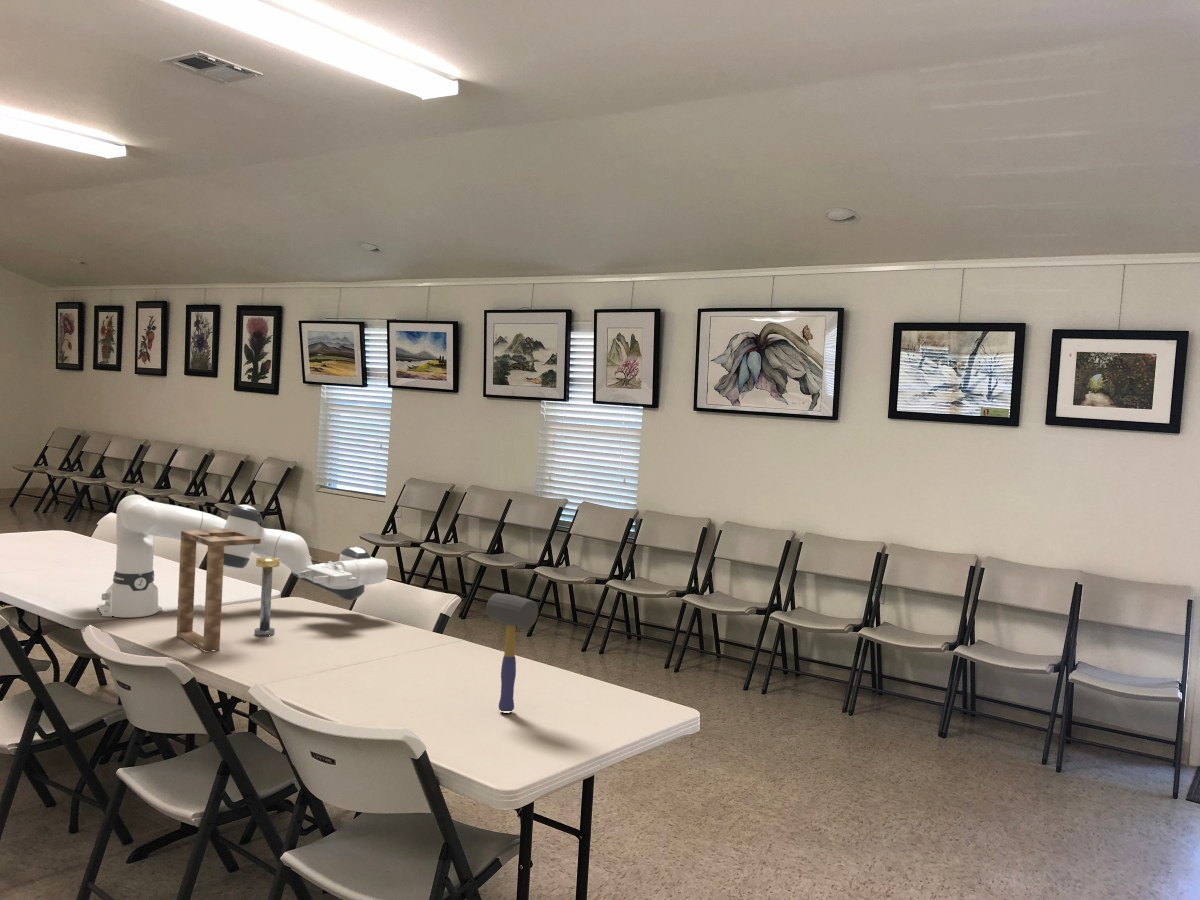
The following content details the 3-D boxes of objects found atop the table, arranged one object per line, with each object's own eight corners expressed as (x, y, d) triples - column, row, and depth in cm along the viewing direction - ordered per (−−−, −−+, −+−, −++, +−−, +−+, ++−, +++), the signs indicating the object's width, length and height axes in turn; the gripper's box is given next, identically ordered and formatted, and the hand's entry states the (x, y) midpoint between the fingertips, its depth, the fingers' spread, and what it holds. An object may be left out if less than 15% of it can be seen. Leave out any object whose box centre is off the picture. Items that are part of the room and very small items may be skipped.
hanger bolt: (248, 633, 298) (252, 558, 297) (269, 630, 303) (273, 556, 302) (258, 638, 293) (262, 561, 292) (280, 635, 298) (283, 560, 297)
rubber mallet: (477, 710, 239) (484, 593, 238) (497, 703, 245) (504, 589, 244) (514, 722, 232) (522, 601, 230) (534, 715, 238) (541, 597, 236)
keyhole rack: (224, 629, 300) (229, 528, 299) (255, 645, 285) (260, 538, 283) (176, 635, 290) (181, 531, 288) (205, 652, 274) (210, 541, 273)
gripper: (360, 588, 309) (321, 592, 299) (329, 578, 323) (291, 581, 313) (361, 569, 308) (322, 572, 299) (329, 560, 323) (292, 563, 313)
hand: (306, 577), depth 306 cm, fingers open, 8 cm apart
